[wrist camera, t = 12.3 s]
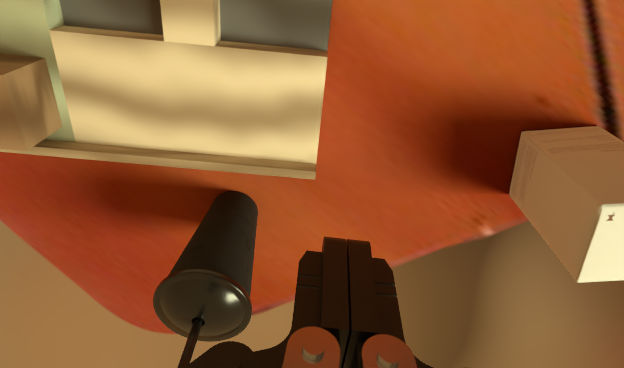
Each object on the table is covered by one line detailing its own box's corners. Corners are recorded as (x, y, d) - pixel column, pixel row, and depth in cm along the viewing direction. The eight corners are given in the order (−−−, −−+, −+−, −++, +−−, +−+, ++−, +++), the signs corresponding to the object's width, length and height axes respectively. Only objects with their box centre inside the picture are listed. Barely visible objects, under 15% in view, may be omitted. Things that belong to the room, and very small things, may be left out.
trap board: (-66, -94, 29) (-118, -99, 26) (337, -52, 30) (339, -52, 27) (8, 131, 39) (-23, 149, 35) (315, 159, 39) (314, 179, 36)
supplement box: (506, 195, 41) (572, 285, 30) (520, 128, 37) (601, 203, 26) (580, 192, 40) (675, 281, 30) (602, 124, 37) (719, 198, 26)
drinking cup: (228, 248, 45) (170, 431, 28) (185, 199, 42) (89, 373, 25) (284, 220, 43) (259, 401, 26) (243, 167, 40) (183, 333, 23)
